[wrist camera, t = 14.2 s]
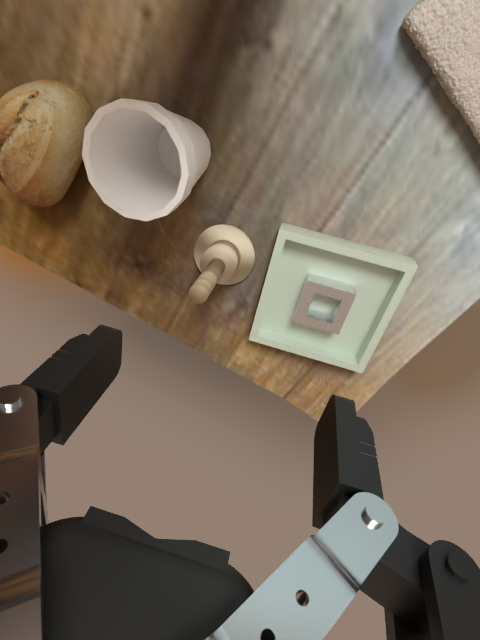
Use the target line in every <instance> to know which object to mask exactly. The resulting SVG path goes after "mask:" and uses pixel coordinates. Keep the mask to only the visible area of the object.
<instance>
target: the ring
mask: <svg viewBox="0 0 480 640" xmlns="http://www.w3.org/2000/svg"><path fill="white" fill-rule="evenodd" d="M314 293H316V294H320V295H323V296H327V297H331V298H334V299H338V300H337V303H336V305H335V307H334V310H333V312H332V314H329V313H326V312H322V311H319V310H315V309H312V308H309V307H310V304H311V301H312V299H313V296H314ZM356 295H357V294H356V289H355V286H354V285H350V284H347V283H343V282H340V281H336V280H333V279H329V278H326V277H322V276H318V275H315V274H311V273H308V275H307V278H306V280H305V283H304V286H303V289H302V292H301V295H300V298H299V301H298V303H297V306H296V309H295V312H294V319H293V322H296V323H299V324H303V325H306V326H310V327H313V328H316V329H320V330H323V331H327V332H330V333H334V334H337V335H339V333H340V331H341V328H342V326H343V324H344V322H345V319H346V317H347V315H348V313H349V310H350V308H351V306H352V304H353V301H354V299H355V297H356Z"/></svg>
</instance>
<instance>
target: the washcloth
mask: <svg viewBox="0 0 480 640" xmlns="http://www.w3.org/2000/svg"><path fill="white" fill-rule="evenodd" d="M401 27H403V28H404V29H405V30H406V32H407V33H408V35H409V37H411V39H412V41H413V43H414V44H415V49H417V50H420V52H421V56H422V57H423V58H424V59H425V60H426V62H427V63H428V64H429V66H430V67H431V69H432V72H433V74H435V75H436V79H438V81H439V84H440V86H441V87H442V88H443V89H444V90H445V93H446V95H447V96H448V98H449V99H450V100H451V103H452V104H453V105H454V106H455V107H456V108H457V110H459V111H460V114H461V116H462V117H463V118H464V120H465V123H466V124H467V125H468V126H469V127H470V129H471V131H472V133H473V135H474V137H476V139H477V141H478V144H479V145H480V0H421V1H420V2H418V3H417V5H416V6H414V7H413V9H412V10H410V11H409V13H408V14H407V15H406V17H405V18H404V20H403V25H402V26H401Z"/></svg>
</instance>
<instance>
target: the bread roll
mask: <svg viewBox="0 0 480 640" xmlns="http://www.w3.org/2000/svg"><path fill="white" fill-rule="evenodd" d="M91 119H92V114H91V111H90V107H89V105H88V104H87V102H86V100H85V98H84V97H83V95H82V94H81V93H80V92H79V90H78V89H76V88H74V87H72V86H71V85H69V84H66V83H63V82H60V81H55V80H48V79H41V80H37V81H34V82H30V83H26V84H23V85H20V86H18V87H16V88H14V89H12V90H11V91H9V92H8V93H6V94H5V95H4V96H3V97H1V99H0V180H1V182H2V183H3V184H4V185H5V186H7V188H8V189H9V190H10V191H11V192H12V193H14V194H15V195H16V196H17V197H18V198H20V199H21V200H22V201H24V202H26V203H28V204H29V205H33V206H38V207H49V206H52V205H54V204H56V203H58V202H59V201H60V200H61V199H62V198H63V197H64V195H65V194H66V192H67V191H68V189H69V187H70V185H71V183H72V181H73V179H74V177H75V175H76V173H77V171H78V169H79V167H80V165H81V163H82V161H83V157H82V149H83V140H84V131H85V128H86V126H87V125H88V123H89V122H90V120H91Z"/></svg>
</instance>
